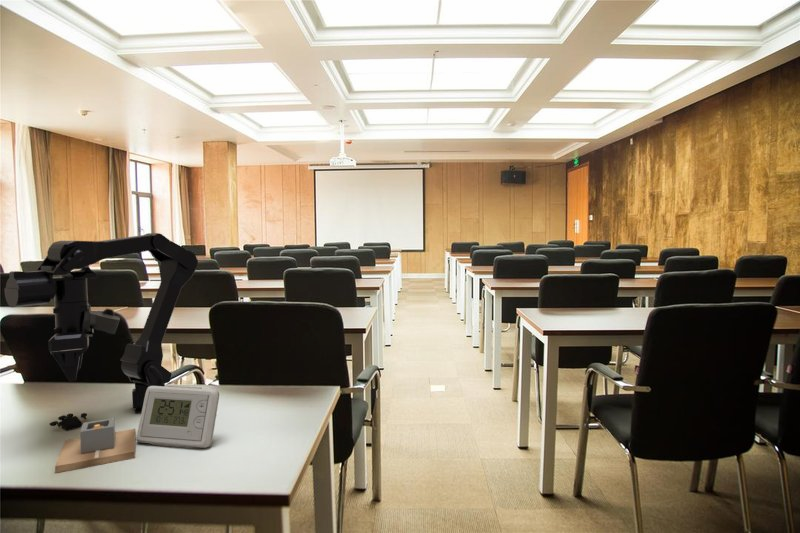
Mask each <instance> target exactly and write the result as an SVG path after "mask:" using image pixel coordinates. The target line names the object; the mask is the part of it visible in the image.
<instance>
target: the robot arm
mask: <svg viewBox="0 0 800 533" xmlns="http://www.w3.org/2000/svg"><path fill="white" fill-rule="evenodd" d="M145 252H149V253H150V255H151V256H152V257H153V259H155V261H157V262H158V263H160V266H159V276H160V283H159V287H158V289H157V291H156V294H155V298H154V300H153V303H152V305H151V308H150V310H149V313H148V315H147V317H146V320H145V323H144V326H143V328H142V331H141V333H140V336H139V338H138V340H136V341H135V343H127V344H126V345H125V348H124V353H123V355H122V357H121V358H120V360H119V361H121V364H120V366H121V367H120V369H121V370H122V372H123V374H124V375H125V376H127V377H128V379H129V381H130V382H131V383H134V388H133V389H132V390H131V394H132V395H131V396H132V400H131V401H132V409H133V410H134V414H141V413H142V408H143V403H144V398H145V394H146V390H147V388H148V387H149V386H165V387H166V384H167V383H170V382H171V378H172V372H171V371H169V369H166V368H165V367H164V366H163V365H162V363H163V358H164V352H163V344H162V343H163V340H164V337H165V334H166V332H167V329H168V326H169V324H170V321H171V318H172V315H173V313H174V310H175V307H176V304H177V301H178V299H179V296H180V294H181V290H182V288H183V287H184V286H185V285H186V284H187V282H189V281H190V280H191V279H192V278H193V275H194V274H195V272H196V270H197V269H198V265H199V260H198V258H197V255H196V254H195V253H194V252H193V251H191V250H187V249H186V248H184V247H183V246H181V245H179V244H177V243H175V242H173V241H172V240H170V239H169V238H167V237H166V236H165V235H163V234H162V233H158V232H153V233H152V232H150V233H149V232H148V233H145V234H141V235H134V236H133V235H132V236H127V237H119V238H113V239H105V240H104V239H103V240H99V241H98V240H97V241H96V240H92V241H91V240H58V241H54V242H53V243H51V244H50V246H49V247H48V249H47V254H46V257H45V258H44V259H43V260H42V262H41V263H40V264H39V265H38V266H37V268H36V269H35V270H34V271H33V270H32V271H20V270H18V271H17V270H12V271H10V272H8V273H9V274H8V275H9V277H8V279H7V281H6V285H5V287H4V297H5V301H6V303H7V305H8V306H9V308H19V307H20V308H22V307H29V306H40V305H47V304H49V303H50V302H51V300H53V302H54V303H53V304H54V306H53V308H52V312H53V314H54V322H55V323H54V325H55V327H54V328H53V332H54V333H53V334H54V335H53V336H51V338H50V339H49V340H48V344H47V346H48V352H50V353H49V354H51V355H52V356H53V358H54V360H55V361H56V362H57V364H58V366H59V368H60V369H61V371H62V372H63V374H64V375H65V377H66V379H67V380H68V382H69V383H70V382H75V381H76V380H77V377H78V376H77V375H78V371H80V369H81V366H82V361H83V355H84V353H85V352H87V350H88V349H89V345H90V340H91V339H92V338H93V335H94V330H95V331H101V332H104V333H105V332H106V333H107V334H111V335H115V334H116V332H117V330H118V326H119V323H120V321H121V317H119V316H118V315H115V310H114V309H111V308H105V309H104V310H102V312H100V311H94V310H92V308H91V304H90V303H89V296H88V279H97V278H98V277H99V274H98V273H96V272H94V271H93V270H92V268H90V267H88V266H91V265H94V264H96V263H99V262H100V261H103V260H105V259H107V258H114V257H119V256H121V257H122V256H125V255H131V254H136V253H137V254H138V253H145ZM74 269H75V270H74ZM76 269H77V270H76ZM73 270H74V271H73ZM54 276H55V277H54ZM87 333H89V334H87Z"/></svg>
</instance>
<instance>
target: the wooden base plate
mask: <svg viewBox="0 0 800 533" xmlns="http://www.w3.org/2000/svg"><path fill="white" fill-rule="evenodd" d="M100 427H104V426H100ZM93 428H94V427H93ZM115 435H116V439H115V445H114V448H109V449H104V450H98V451H92V452H87V453H81V441H80V437H78V438H77V437H76V438H72V439H65V440H64V442H63V445H62V447H61V450H60V452H59V455H58V458H57V461H56V463H55V465H54V473H55V474H58V473H63V472H68V471H74V470H80V469H84V468H88V467H95V466H100V465H103V464H110V463H114V462H120V461H124V460H130V459H131V460H132V459H134V458H135V459H136V439H137V431H136V428H131V429H125V430H118V431H115Z"/></svg>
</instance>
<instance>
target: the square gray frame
mask: <svg viewBox="0 0 800 533" xmlns="http://www.w3.org/2000/svg"><path fill="white" fill-rule="evenodd" d="M100 426H104V427H100ZM93 427H94V428H93ZM80 428H81V429H80V431H79V436H80V437H79V438H80V441H81V453H87V452H92V451H98V450H104V449H109V448H114V445H115V439H116V435H115V432H116V417H115V418H114V417H113V418H107V419H100V420H93V421H87V422H86V421H85V422H82V425H81V427H80Z"/></svg>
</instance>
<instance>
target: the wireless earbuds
mask: <svg viewBox="0 0 800 533" xmlns="http://www.w3.org/2000/svg"><path fill="white" fill-rule="evenodd" d="M87 416H88V414H87V413H86V412H82V413H80V417H81V418H82V419H83V420H84V421H85V422H86V421H87V422H88V418H87ZM57 419H58V420H59V422H58V421H57V420H54V421H51V422H50V423H49V426H51V427H56V426H57V427H58V428H59V429H62V428H63V429H64V430H66V431H72V430H75V429H78V428H82V425H83V422H82V421H81V420H80V418H79V417H78V416H77V415H74V414H73V413H68V414H66V415H65V414H62V415H61V416H58V417H57Z"/></svg>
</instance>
